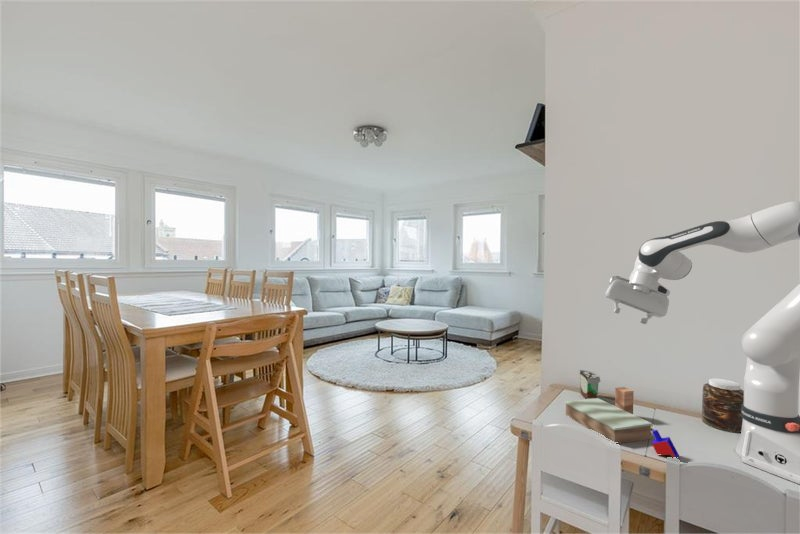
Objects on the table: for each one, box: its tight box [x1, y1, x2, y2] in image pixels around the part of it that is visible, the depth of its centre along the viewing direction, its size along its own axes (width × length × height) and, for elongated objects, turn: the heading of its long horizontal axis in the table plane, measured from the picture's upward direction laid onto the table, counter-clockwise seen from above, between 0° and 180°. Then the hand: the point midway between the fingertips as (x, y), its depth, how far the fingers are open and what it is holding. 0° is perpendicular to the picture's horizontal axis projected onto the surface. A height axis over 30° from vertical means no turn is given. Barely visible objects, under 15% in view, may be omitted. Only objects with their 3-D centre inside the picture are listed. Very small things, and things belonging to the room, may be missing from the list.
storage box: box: [564, 397, 653, 444], centre depth 127 cm, size 23×15×5 cm, turn 14°
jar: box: [701, 377, 744, 434], centre depth 128 cm, size 12×12×15 cm
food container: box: [579, 369, 601, 399], centre depth 152 cm, size 12×6×10 cm, turn 168°
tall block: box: [614, 386, 634, 415], centre depth 135 cm, size 4×4×10 cm
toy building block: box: [651, 429, 680, 458], centre depth 108 cm, size 4×4×8 cm
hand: (629, 318), depth 135 cm, fingers open, 8 cm apart
